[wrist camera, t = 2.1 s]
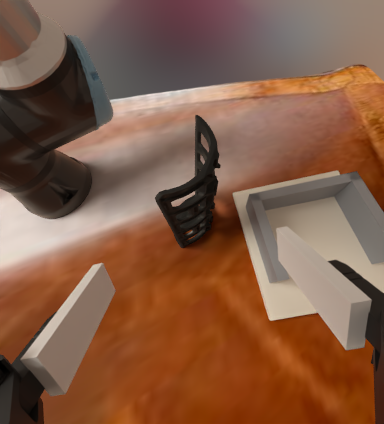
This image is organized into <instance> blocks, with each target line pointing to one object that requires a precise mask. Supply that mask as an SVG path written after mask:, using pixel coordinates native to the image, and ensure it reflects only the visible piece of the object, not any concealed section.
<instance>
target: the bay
mask: <svg viewBox="0 0 384 424" xmlns="http://www.w3.org/2000/svg"><path fill="white" fill-rule="evenodd" d="M233 198H234V202H235V205H236V209H237V212H238V216H239V219H240V222H241V226H242V229H243V233H244V236H245V239H246V243H247V246H248V250H249V253H250V256H251V260H252V263H253V267H254V270H255V274H256V277H257V280H258V284H259V287H260V291H261V294H262V297H263V301H264V304H265V308H266V311H267V314H268V318H269V320H270V321H272V320H278V319H284V318H289V317H295V316H301V315H307V314H313V313H318V312H317V311H316V309H315V308H314V307H313V305H312V304H311V303H310V301H309V300H308V299H307V297H306V296H305V295H304V293H303V292H302V291H301V289H300V288H299V287H298V285H297V284H296V283H295V281H294V280H293V279H292V277H291V276H290V275H289V273H288V272H287V271H286V269H285V268H284V267H283V266H282V264H281V263H280V262H279V260H278V246H277V231H276V228H281V227H286V226H287V227H289V228H290V229H291V230H292V231H293V232H294V233H295V234H297V235H298V236H299V237H300V238H301V239H302V240H304V241H305V242H306V243H307V244H308V245H309V246H310V247H312V248H313V249H314V250H315V251H316V252H317V253H318V254H320V255H321V256H322V257H323V258H324V259H325V260H326V261H331V260H338V261H340V262H342V263H345V264H347V265H348V266H349V267H351V268H352V269H353V270H355V271H356V273H358V274H360V275H361V276H362V277H363V278H364V279H366V280H367V281H369V282H370V283H371V284H372V285H374V286H375V287H376V288H378V289H379V290H380V291H381V292H383V293H384V212H383V211H382V209H381V208H380V206H379V205H378V203H377V202H376V200H375V199H374V197H373V196H372V194H371V192H370V191H369V189H368V188H367V186H366V185H365V183H364V182H363V180H362V179H361V177H360V176H359V174H358V172H357V171H356V172H351V173H347V174H342V175H340V173H339V171H338V170H337V171H332V172H327V173H323V174H318V175H313V176H309V177H304V178H299V179H295V180H290V181H285V182H281V183H276V184H271V185H267V186H262V187H257V188H253V189H248V190H243V191H239V192H234V193H233Z"/></svg>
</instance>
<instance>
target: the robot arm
mask: <svg viewBox="0 0 384 424" xmlns="http://www.w3.org/2000/svg"><path fill="white" fill-rule="evenodd" d="M112 117H113V109H112V106H111V103H110V100H109V98H108V96H107V93H106V91H105V88H104V86H103V84H102V82H101V80H100V78H99V76H98V73H97V71H96V69H95V67H94V64H93V62H92V60H91V58H90V56H89V54H88V52H87V50H86V48H85V46H84V45H83V43H82V41H81V40H80V38H79V37H77V36H71V35H70V36H69V35H68V36H66V35H65V33H64V32H63V30H62V28H61V27H60V26H59V24H58V23H57V22H56V21H54V20H53V19H51V18H50V17H48V16H45V15H43V14H40V13H38V12H36V11H35V10H34V8H33V7H32V5H31V4H30V2H29V1H28V0H0V188H1V189H3V190H5V191H7V192H9V193H11V194H12V195H13V196H14V197H15V198H16V199H17V200H18V201H19V202H21V203H22V204H23V205H24V206H25V208H26V209H27V210H28V211H30V212H31V213H33V214H36V215H38V216H40V217H43V218H48V219H53V218H58V217H62V216H64V215H66V214H68V213H70V212H72V211H73V210H74V209H76V208H77V207H78V206H79V205H80V204H81V203H82V202H83V201H84V199H85V198H86V196H87V195H88V193H89V190H90V187H91V181H92V179H91V174H90V172H89V170H88V169H87V168H86V167H85V166H84V165H83V164H82V163H81V162H80V161H78V160H77V159H75V158H72V157H69V156H67V155H65V154H63V153H61V152H59V151H57V150H55V149H56V148H58V147H60V146H62V145H64V144H67V143H69V142H71V141H73V140H75V139H77V138H79V137H82V136H84V135H86V134H88V133H90V132H92V131H94V130H97V129H99V127H101V126H102V125H104V124H106V123H108V122H109V121H110V120H111V119H112ZM276 231H277V246H278V260H279V262H280V263H281V264H282V266H283V267H284V268H285V269H286V271H287V272H288V273H289V275H290V276H291V277H292V279H293V280H294V281H295V283H296V284H297V285H298V287H299V288H300V289H301V291H302V292H303V293H304V295H305V296H306V297H307V299H308V300H309V301H310V303H311V304H312V305H313V307H314V308H315V309H316V311H317V312H318V313H319V315H320V316H321V317H322V319H323V320H324V321H325V323H326V324H327V325H328V327H329V328H330V329H331V331H332V332H333V333H334V335H335V336H336V337H337V339H338V340H339V341H340V343H341V344H342V345H343V347H344V348H345V349H346V350H350V349H357V348H363V347H364V345H365V339H367V340H368V341H369V342H370V343H371V344H372V345H373V347H374V350H373V355H372V360H371V363H372V364H374V393H375V424H384V293H383V292H381V291H380V290H379V289H378V288H376V287H375V286H374V285H372V284H371V283H370V282H369V281H367V280H366V279H364V278H363V277H362V276H361V275H360V274H358V273H356V271H355V270H353V269H352V268H351V267H349V266H348V265H347V264H345V263H342V262H340V261H338V260H331V261H326V260H325V259H324V258H323V257H322V256H321V255H320V254H318V253H317V252H316V251H315V250H314V249H313V248H312V247H310V246H309V245H308V244H307V243H306V242H305V241H304V240H302V239H301V238H300V237H299V236H298V235H297V234H295V233H294V232H293V231H292V230H291V229H290V228H289V227H287V226H286V227H281V228H276ZM115 291H116V290H115V288H114V286H113V284H112V282H111V279H110V277H109V275H108V273H107V271H106V269H105V267H104V264H103V263H100V264H95V265H93V266H92V267H91V269H90V270H89V271H88V272H87V274H86V275H85V276H84V278H83V279H82V280H81V282H80V283H79V284H78V285H77V287H76V288H75V289H74V291H73V292H72V293H71V295H70V296H69V297H68V298H67V300H66V301H65V302H64V304H63V305H62V306H61V308H60V309H59V310H58V311H57V312H55V313H54V314H53V315H52V316H51V317H50V318H48V319H47V320H46V322H45V323H44V324H43V325H42V327H41V328H40V330H39V331H38V332H37V333H36V334H35V335H34V338H32V339H31V340H30V342H29V343H28V344H27V345H26V347H25V348H24V349H23V350H22V352H21V353H20V354H19V356H18V357H17V358H16V359H15V361H14V362H13V363H12V364H10V363H9V361H8V360H7V359H6V358H5V357H4V356H3V355H0V424H44V416H43V402H42V399H41V398H40V396H41V394H42V393H43V391H44V389H45V390H46V391H47V392H48V394H49V395H50V396H55V395H61V394H66V392H67V390H68V388H69V386H70V384H71V382H72V379H73V377H74V375H75V373H76V371H77V369H78V367H79V365H80V363H81V361H82V359H83V357H84V355H85V353H86V351H87V349H88V347H89V345H90V343H91V341H92V338H93V336H94V334H95V332H96V330H97V328H98V326H99V324H100V322H101V320H102V318H103V316H104V314H105V312H106V310H107V308H108V306H109V304H110V302H111V300H112V297H113V295H114V293H115Z"/></svg>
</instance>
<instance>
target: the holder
mask: <svg viewBox="0 0 384 424" xmlns="http://www.w3.org/2000/svg"><path fill="white" fill-rule="evenodd" d="M195 119H196V124H195V177H194V178H193V179H192V180H190V181H189V182H187V183H185V184H183V185H181V186H179V187H176V188H172V189H169V190H164V191H161V192H159V193H158V194H157V195H156V197H155V200H156V202H157V204H158V206H159V208H160V209H161V211H162V213H163V215H164V217H165V219H166V220H167V222H168V224H169V226H170V227H171V229H172V231H173V233H174V236H175V238H176V241H177V242H178V244H179V245H180V247H181V248H184V247H185V246H187V245H189V244H192V243H194V242H196V241H197V240H199V239H200V238H201V237H202V236H203V235H204V234H205V233H206V231H208V230H210V229H211V224H210V223H212V220H213V216H212V211H210V209H214V207H215V203H214V196H215V195H216V192H217V186H218V180H217V177H216V176H215V171H214V169H215V168H220V164H219V163H218V158H219V153H218V149H217V141H216V139H215V136H214V134H213V132H212V130H211V128H210V127H209V126H208V124H207V123H206V122H205V121H204V120H203V119H202V118H201V117H200V116H198V115H195ZM201 133H202V134H203V136H204V137H205V138H206V140H207V142H208V145H209V153H208V152H207V150H206V149H205V148H204V147H203V145H202V144H201ZM200 154H201V155H202V156H203V158H204V160H205V164H204V165H203V163H202V162H201V161H200ZM194 191H195V195H194V196H192V197H190V198H188V199H187V200H185V201H184V202H183V203H182V204H181V205H179V206H176V207H172V205H171V202H172V201H174V200H176V199H179V198H182V197H185V196H187V195H189V194H190V193H192V192H194ZM199 204H200V205H199ZM209 222H210V223H209ZM189 230H192V231H191V232H190V233H187V234H185V235H183V233H184V232H187V231H189ZM197 233H198V234H197ZM196 234H197V235H196ZM194 235H196V236H195V237H193V236H194ZM191 237H193V238H192V239H190V240H187V239H188V238H191ZM186 240H187V241H186Z"/></svg>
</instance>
